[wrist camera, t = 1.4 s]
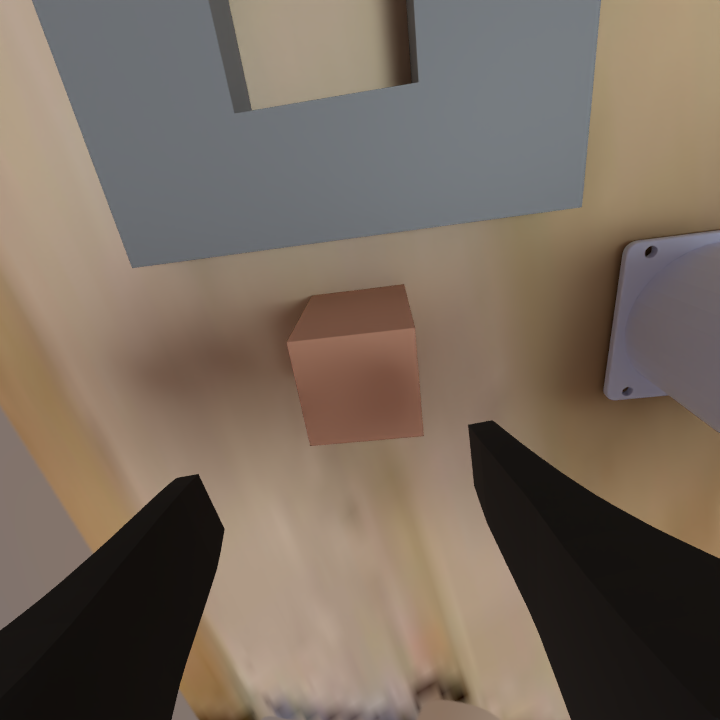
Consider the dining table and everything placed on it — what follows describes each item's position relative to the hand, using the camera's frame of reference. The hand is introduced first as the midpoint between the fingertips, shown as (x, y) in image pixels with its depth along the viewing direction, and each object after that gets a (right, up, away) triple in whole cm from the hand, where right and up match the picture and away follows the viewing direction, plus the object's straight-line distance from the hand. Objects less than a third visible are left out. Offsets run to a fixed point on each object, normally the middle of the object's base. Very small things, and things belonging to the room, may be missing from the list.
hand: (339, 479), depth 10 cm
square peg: (+1, +5, +10) cm, 11 cm away
